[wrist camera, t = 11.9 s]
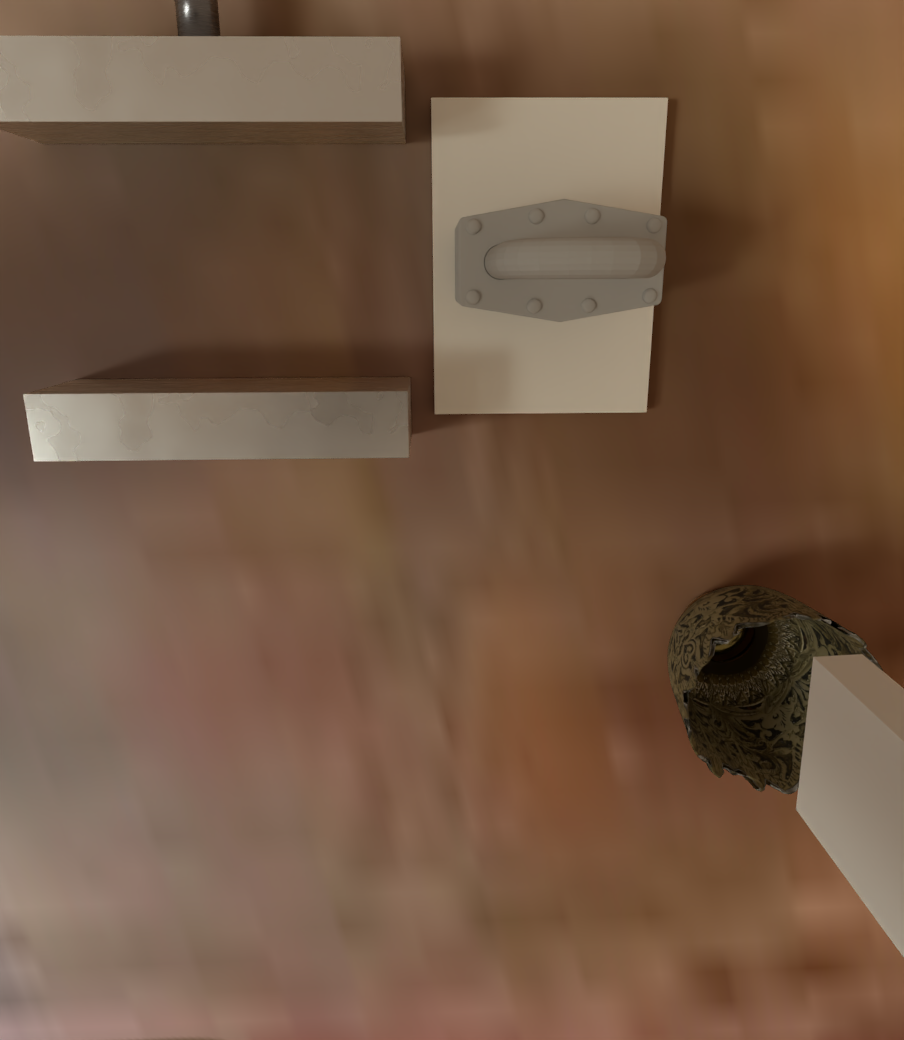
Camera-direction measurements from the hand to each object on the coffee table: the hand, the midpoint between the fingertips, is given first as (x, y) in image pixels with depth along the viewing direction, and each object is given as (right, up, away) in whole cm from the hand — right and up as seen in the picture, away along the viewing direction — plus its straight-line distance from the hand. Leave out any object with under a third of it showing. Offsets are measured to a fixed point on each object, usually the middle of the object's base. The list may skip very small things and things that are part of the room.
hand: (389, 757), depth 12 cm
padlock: (+5, +14, +20) cm, 25 cm away
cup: (+13, -1, +25) cm, 28 cm away
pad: (+5, +14, +20) cm, 25 cm away
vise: (-8, +15, +19) cm, 26 cm away
